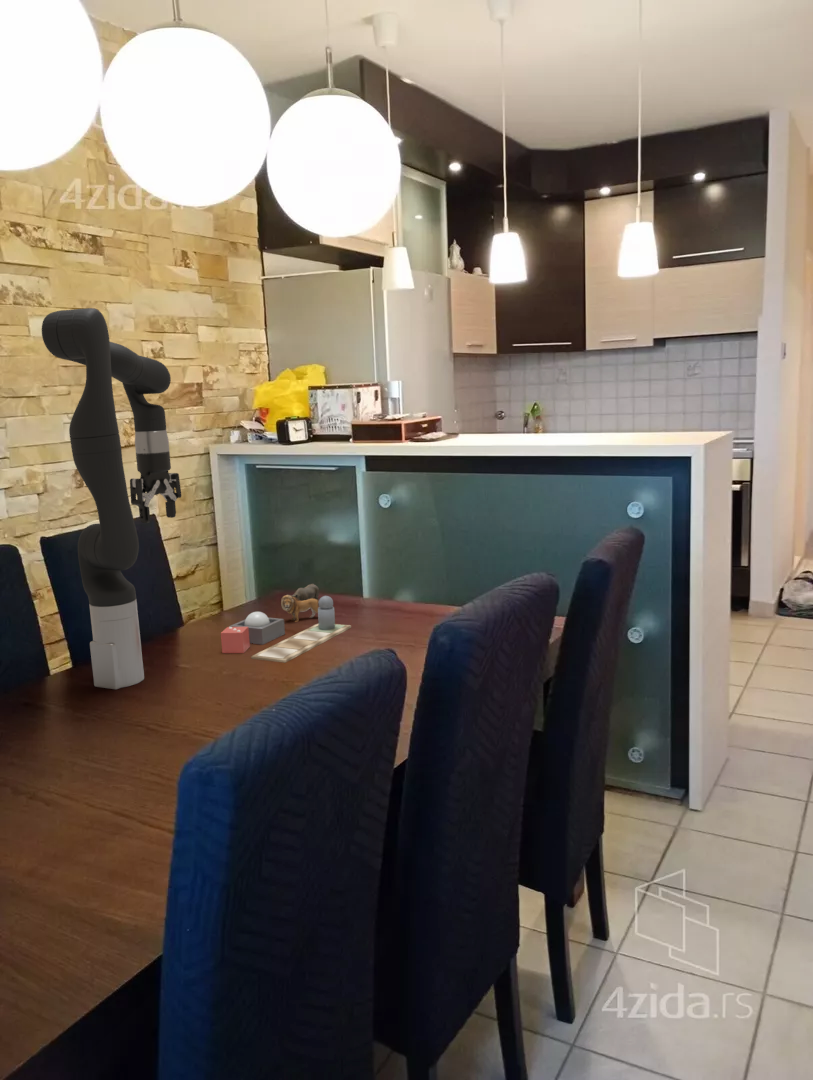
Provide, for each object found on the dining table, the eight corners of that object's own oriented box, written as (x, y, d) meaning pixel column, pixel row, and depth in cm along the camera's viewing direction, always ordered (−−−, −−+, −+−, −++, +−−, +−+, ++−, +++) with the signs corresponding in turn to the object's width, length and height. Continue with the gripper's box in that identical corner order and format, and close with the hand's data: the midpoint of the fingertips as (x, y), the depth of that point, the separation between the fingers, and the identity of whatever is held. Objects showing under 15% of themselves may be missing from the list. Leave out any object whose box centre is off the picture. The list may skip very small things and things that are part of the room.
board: (285, 663, 188) (285, 659, 188) (251, 659, 192) (251, 655, 192) (351, 628, 214) (351, 625, 214) (320, 625, 218) (319, 622, 218)
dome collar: (262, 645, 203) (261, 629, 202) (231, 642, 207) (229, 625, 206) (285, 634, 211) (283, 619, 210) (254, 631, 215) (252, 616, 214)
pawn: (329, 630, 209) (328, 598, 208) (315, 629, 211) (314, 597, 210) (338, 626, 213) (336, 594, 212) (324, 624, 215) (322, 593, 213)
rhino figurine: (282, 614, 231) (280, 592, 230) (311, 602, 243) (310, 581, 242) (295, 615, 229) (293, 593, 228) (323, 603, 241) (322, 582, 240)
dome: (261, 640, 205) (259, 616, 204) (240, 638, 207) (238, 614, 206) (275, 633, 210) (273, 609, 209) (255, 631, 213) (253, 608, 212)
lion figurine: (285, 625, 219) (283, 597, 218) (279, 622, 223) (277, 594, 222) (329, 618, 225) (327, 590, 223) (323, 614, 228) (321, 587, 227)
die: (243, 654, 197) (242, 631, 196) (222, 654, 197) (220, 631, 196) (250, 647, 202) (248, 625, 201) (229, 647, 202) (227, 625, 201)
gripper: (143, 453, 192) (149, 525, 195) (185, 448, 205) (191, 516, 208) (117, 453, 196) (124, 524, 199) (161, 448, 208) (167, 515, 211)
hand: (158, 519), depth 203 cm, fingers open, 8 cm apart
